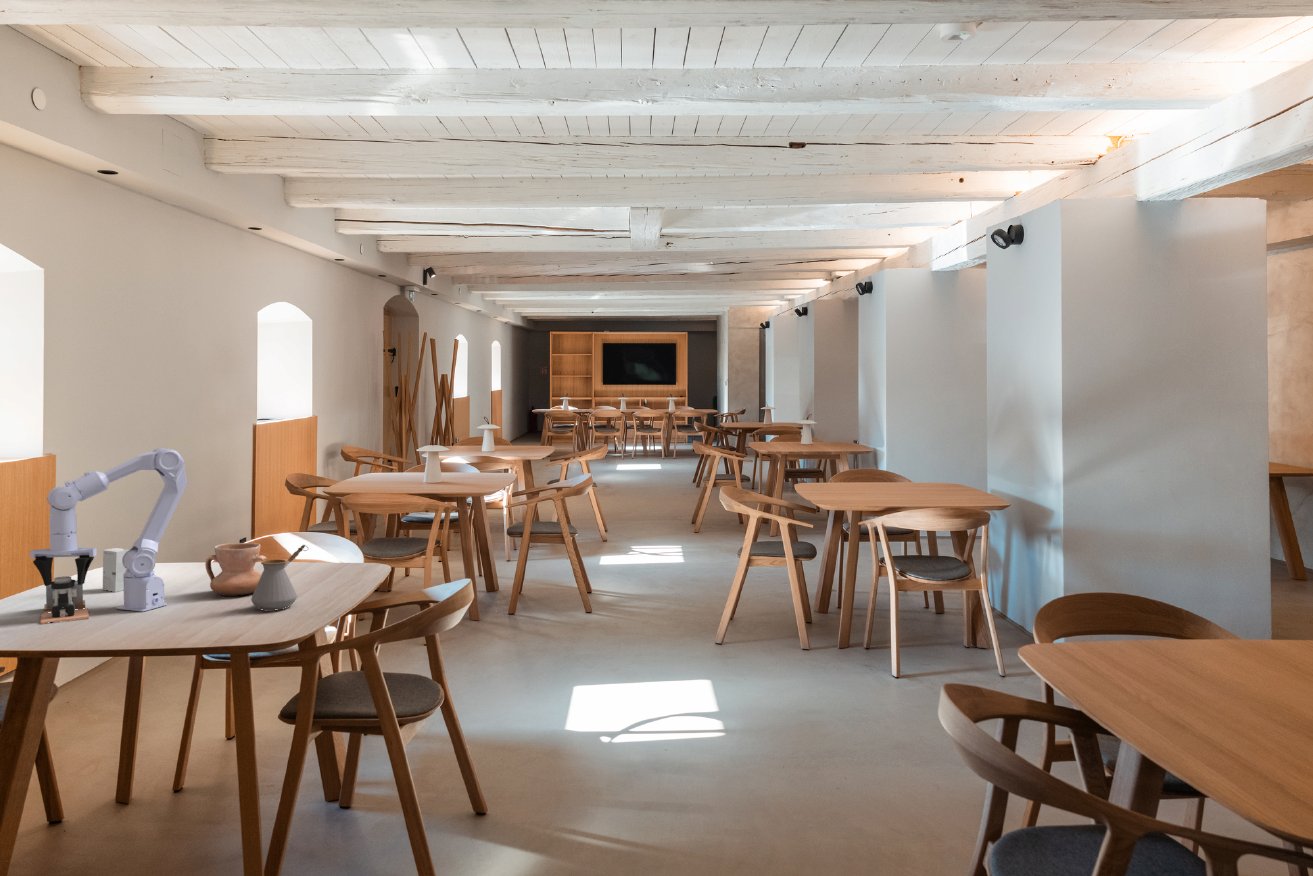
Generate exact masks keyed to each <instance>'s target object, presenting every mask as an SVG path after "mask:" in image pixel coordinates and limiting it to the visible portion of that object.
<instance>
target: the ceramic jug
mask: <svg viewBox="0 0 1313 876" xmlns="http://www.w3.org/2000/svg"><path fill="white" fill-rule="evenodd" d="M260 551H261V544H260V543H256V542H237V543H236V542H234V543H233V542H232V543H222V544H221V543H220V544H218V545H217V544H216V545H215V546H214V554H212V555H209V556H208V557H207V558H206V559H205V563H204V566H205V571H206V573H207V575H208V577H209V579H210V583H209V587H210V589H211V591H212V592H214V593H215V594H219V595H222V596H227V597H231V596H232V597H233V596H234V597H237V596H238V595H239V596H245V594H246V595H250V594H253V593H254V591H255V589H256V587H257V584H258V582H259V580H260V577H261V575H262V574H261V573H260V572H258V571H256V570H255V569H254V567H255V565H256V563H257V562H259V561H261V562H263V561H266V559H267V556H265V555H260V553H261V552H260ZM212 561H215V562H217V563H218V565H219V567H220V569H221V572H219V574H217V575H216V576H215V574H214V571H212V570H213V569H212ZM239 596H238V597H239Z"/></svg>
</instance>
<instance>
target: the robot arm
mask: <svg viewBox="0 0 1313 876" xmlns="http://www.w3.org/2000/svg"><path fill="white" fill-rule="evenodd" d="M185 465H186V462H185V460H184V459H183V457H182V455H181V454H180V452H179V451H177V450H175V449H172V448H166V447H157V448H155V449H153V450H152V451H151V450H150V451H146V452H143V453H140V454H138V455H136V456H134V457H132V458H130V459H128V460H125V461H124V462H122V463H119V464H117V465H116V466H114V467H112V468H109V469H107V470H106V471H104V472H101V471H97V470H94V471H90V470H87V471H85V472H84V473H83V474H84V475H83V476H80V477H78V478H75V479H73V480H72V481H69V480H67V481H64V485H59V486H55V487H53V488H52V489H51V490H50V491H49V492H48V495H47V497H46V501H47V502H48V504H49V516H48V517H49V548H43V549H33V550H30V551H29V552H30V554H29V556H30V559H34V560H33V565H34V566H35V567H36V568H37V570H38V572H39V574H40V576H41V578H42V581H43V585H44V587H46V586H49V585H50V582H53V580H52V579H53V577H52V570H53V569H52V568H53V561H54V560H53V559H54V558H75V557H77V558H75V559H74V561H75V565H76V566H75V567H76V572H77V579H76V580H77V582H78V585H82V584H83V585H84V584H85V582H86V577H87V574H88V570H89V568H90V566H91V563H93V561H94V558H95V557H96V556H97V555H98V554H97V553H98V551H97V550H98V549H97V547H92V548H91V547H78V529H77V514H76V506H77V504H78V503H79V502H83V501H85V500H87V499H89V498H92V497H94V496H97V495H98V494H101V493H103V492H104V491H106V490H108V486H110V483H113V482H115V481H118V480H120V479H122V478H124V477H128V476H129V475H131V474H134V473H137V472H140V471H156V472H157V473H158V474H159V476H160V477H161V479H162V481H163V483H164V486H163V488H162V490H161V491H160V494H159V496H158V498H157V500H156V502H155V503H154V506H153V508H152V510H151V512H150V515H149V517H148V518H147V521H146V523H145V524H144V527H143V529H142V531H141V533H140V535H139V537H138V538H137V539H136V540H135V541H134V542H133V543H132V544H133V545H132V546H131V547H130V549H128V550H129V551H127V552H126V553H125V554H124V556H123V558H122V563H123V566H124V567H125V568H126V569H127V570H126V572H125V573H124V574H123V581H124V591H123V605H118V606H115V610H122V611H125V610H126V611H133V612H146V611H150V610H153V609H157V608H160V607H164V606H167V604H168V603H166V602H165V583H164V580H163V579H162V578H161V577H160V576H157V575H156V574H155V570H154V569H155V567H156V557H157V555H158V552H159V543H160V541H161V539H162V538H163V535H164V533H165V531H166V529H167V527H168V525H169V522H170V521H171V520H172V519H171V518H172V517H173V514H174V513H175V511H176V509H177V507H178V504H179V502H180V500H181V498H182V497H183V494H184V492H185V490H186V487H187V485H188V479H187V474H186V469H185V468H186V466H185Z"/></svg>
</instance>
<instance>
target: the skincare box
mask: <svg viewBox="0 0 1313 876" xmlns="http://www.w3.org/2000/svg"><path fill="white" fill-rule="evenodd" d="M129 550H130V549H125V548H119V547H113V548H108V549H103V552H102V590H103V591H106V590H108V591H107V592H111V591H112V593H118V591H119V592H123V591H122V590H124V581H123V574H124V573H125V572H126V570H127V569H126V568H125V567H124V566H123V563H122V558H123V556H124V554H125V553H126V552H127V551H129Z"/></svg>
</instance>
